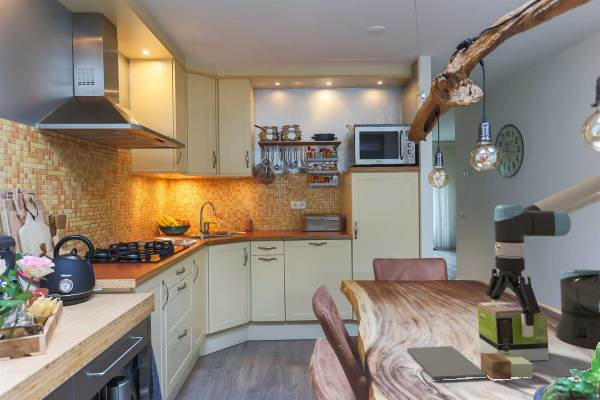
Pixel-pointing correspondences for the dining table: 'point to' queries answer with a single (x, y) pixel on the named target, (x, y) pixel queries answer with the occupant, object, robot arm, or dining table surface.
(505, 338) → the tea box
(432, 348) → the block
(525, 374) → the sage painted block
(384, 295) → the dining table surface
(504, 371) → the walnut cube
